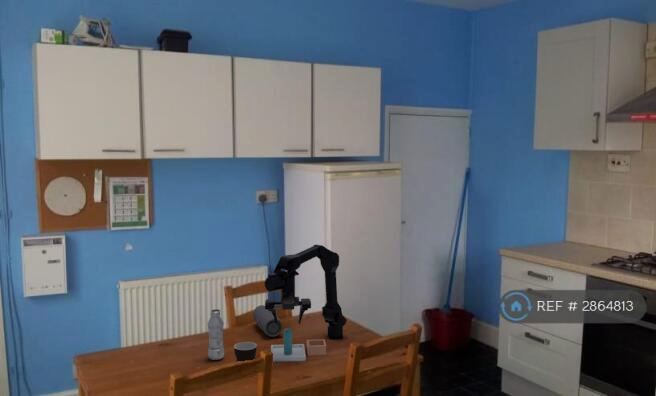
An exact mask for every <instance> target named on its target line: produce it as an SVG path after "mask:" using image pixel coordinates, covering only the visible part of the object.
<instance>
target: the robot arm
mask: <svg viewBox="0 0 656 396" xmlns="http://www.w3.org/2000/svg"><path fill="white" fill-rule="evenodd" d="M314 258H318V259H319V262H320V263H319V264H320V266H321V268H322V269H323V271H324V284H325V299H326V300H325V304H324V306H322V307H321V311H322V313H321V314H322V315H321V316H322V317H323V319H324V322H325V323H326V324H328V325H327V327H326V335H327V337H328V339H329V340H337V339H338V340H342V339H344V336H343V335H344V334H343V333H344V326H345V325H346V324H347V318H346V317H345V315H344V314H343V312H342V307H341V305H340V304H339V302H338V289H337V269H339V266H340V255H339V254H338V253H337V252H335V251H332V250H330V249H329V248H327V247H325V246H324V245H321V244H314V245H312V246H311V247H308V248H306V249H304V250H301V251H300V252H298V253H294V254H287V255H282V256H280V258H279V260H278V263H277V264H276V266H275V268H274V270H273V271H272V273H269V274H268V275H267V277H266V279H265V280H264V287H265V289H266V291H268V292H269V293H272V292H275V291H276V292H277V291H280V301H275V300H276V299H275V298H268V299H266V300H265V301H264V306H265V309H268V311H271V312H272V314H273V316H274V319H275V322H276V325H277V317H278V315H277V307H282V310H283V311H286V310H287V311H288V310H291V311H293V310H295V307H299V315H298V325H300V324H301V322H302V320H303V316H304V314H305V312H306V311H308V310H309V309H312V301H311V298H309V297H308V298H300V296H296V276H299V272H298V271H297V270H299V269H300V267H301V265H302V264H305V263H306V262H309V261H310V260H312V259H314Z"/></svg>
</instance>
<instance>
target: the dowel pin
mask: <svg viewBox="0 0 656 396" xmlns="http://www.w3.org/2000/svg"><path fill="white" fill-rule="evenodd" d="M292 344H293V329H291V328H284V329H283V345H284V354H285V355H291V354H292Z"/></svg>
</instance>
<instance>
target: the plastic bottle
mask: <svg viewBox="0 0 656 396" xmlns="http://www.w3.org/2000/svg"><path fill="white" fill-rule="evenodd" d="M207 330H208V339H209V340H208V350H207V356H208V359H210V360H212V361H219V360H222V359H223V357H224V356H225V348H224V343H223V342H224V341H223V336H224V335H223V332H224V320H223V318H222V317H221V309H217V308H216V309H211V310H210V318H209V319H208V321H207Z"/></svg>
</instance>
